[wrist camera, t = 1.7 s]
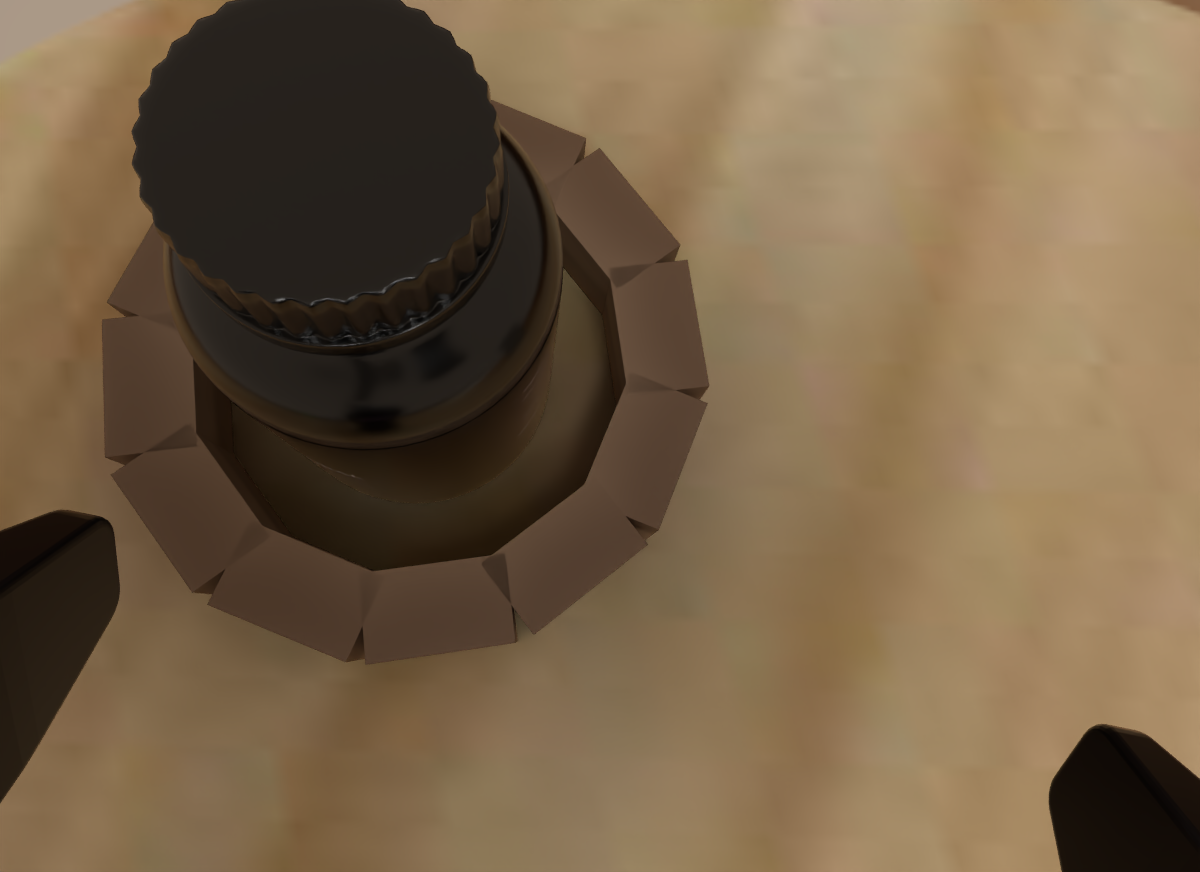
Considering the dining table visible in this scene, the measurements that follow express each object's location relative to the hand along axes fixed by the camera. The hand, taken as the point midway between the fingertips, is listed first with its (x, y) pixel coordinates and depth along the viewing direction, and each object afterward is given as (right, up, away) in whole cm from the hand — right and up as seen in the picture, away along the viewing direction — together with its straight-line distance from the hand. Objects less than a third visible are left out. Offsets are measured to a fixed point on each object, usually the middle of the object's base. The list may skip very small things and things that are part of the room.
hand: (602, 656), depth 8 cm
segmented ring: (-5, +3, +15) cm, 16 cm away
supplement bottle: (-5, +3, +15) cm, 16 cm away
